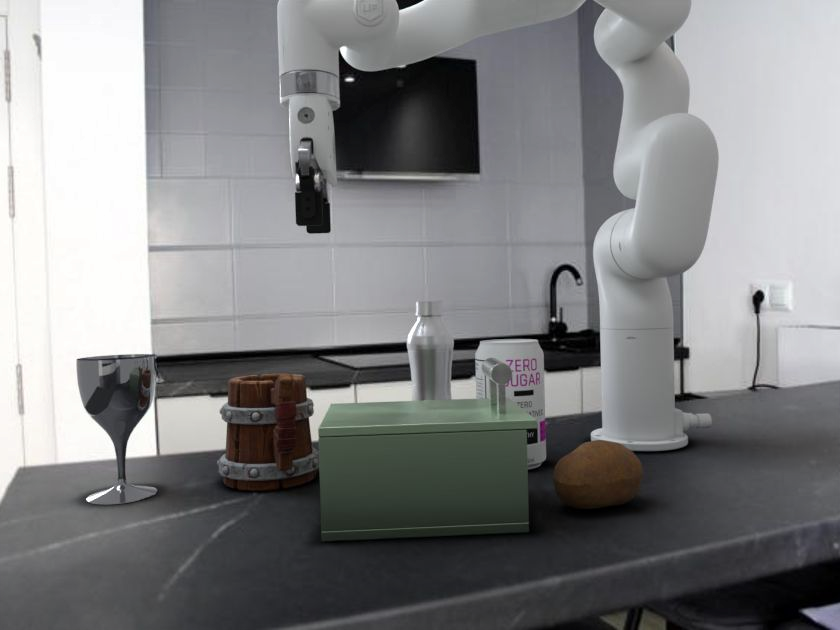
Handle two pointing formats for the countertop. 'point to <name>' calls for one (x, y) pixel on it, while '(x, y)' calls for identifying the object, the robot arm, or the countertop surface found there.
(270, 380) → the mug
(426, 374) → the silver metal bottle
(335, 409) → the lid
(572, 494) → the potato
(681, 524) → the countertop surface
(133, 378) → the wine glass
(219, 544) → the countertop surface
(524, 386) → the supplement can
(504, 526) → the green box
